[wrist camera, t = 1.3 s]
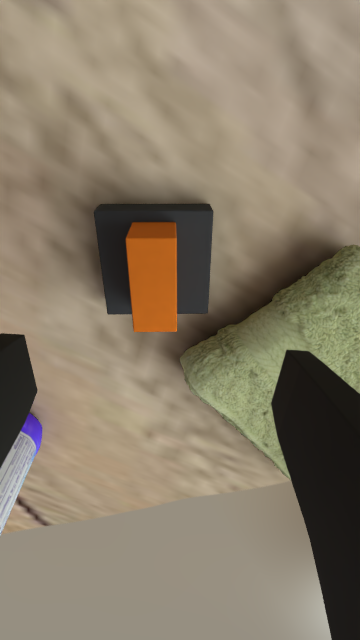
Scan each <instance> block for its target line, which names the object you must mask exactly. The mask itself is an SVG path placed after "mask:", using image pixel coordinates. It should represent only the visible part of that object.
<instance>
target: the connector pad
mask: <svg viewBox="0 0 360 640" xmlns="http://www.w3.org/2000/svg"><path fill="white" fill-rule="evenodd" d="M94 217H95V224H96V232H97V239H98V246H99V254H100V261H101V269H102V276H103V284H104V291H105V298H106V306H107V313H108V314H132V317H133V329H134V332H175V331H177V314H203V313H208V300H209V281H210V263H211V244H212V226H213V210H212V208H211V206H210V204H101V205H99V206H98V207H97V208H96V209H95V211H94Z"/></svg>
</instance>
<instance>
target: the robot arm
mask: <svg viewBox="0 0 360 640" xmlns="http://www.w3.org/2000/svg"><path fill="white" fill-rule="evenodd" d="M36 393H37V387H36V383H35V378H34V374H33V370H32V366H31V361H30V357H29V353H28V349H27V345H26V340H25V336H24V335H19V334H0V468H1V466H2V464H3V462H4V460H5V459H6V457H7V455H8V453H9V451H10V450H11V448H12V446H13V444H14V442H15V440H16V439H17V437H18V435H19V433H20V431H21V429H22V427H23V426H24V424H25V421H26V419H27V416H28V414H29V411H30V409H31V406H32V404H33V401H34V398H35V396H36ZM271 406H272V412H273V417H274V423H275V428H276V433H277V437H278V441H279V444H280V447H281V450H282V453H283V456H284V460H285V463H286V466H287V469H288V472H289V475H290V478H291V481H292V484H293V487H294V490H295V493H296V496H297V499H298V502H299V505H300V508H301V511H302V515H303V517H304V521H305V524H306V528H307V531H308V535H309V538H310V542H311V546H312V551H313V555H314V559H315V564H316V568H317V572H318V577H319V581H320V585H321V590H322V594H323V599H324V604H325V609H326V614H327V619H328V623H329V628H330V633H331V638H332V640H360V394H359V393H358V392H357V391H356V390H355V389H354V388H352V387H351V386H350V385H349V384H348V383H346V382H345V381H344V380H343V379H342V378H341V377H339V376H338V375H337V374H336V373H335V372H334V371H332V370H331V369H330V368H329V367H328V366H327V365H325V364H324V363H323V362H322V361H321V360H319V359H318V358H317V357H316V356H315V355H313V354H312V353H311V352H309V351H301V350H286V353H285V357H284V360H283V363H282V367H281V370H280V374H279V377H278V381H277V384H276V388H275V391H274V395H273V398H272V401H271Z"/></svg>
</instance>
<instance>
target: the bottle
mask: <svg viewBox="0 0 360 640" xmlns="http://www.w3.org/2000/svg"><path fill="white" fill-rule="evenodd" d="M41 438H42V425H41V424H40V422H39V421H38V420H37V419H36V418H35V417H34V416H33V415H32V414H30V413H29V414H28V416H27V419H26V421H25V424H24V426H23V427H22V429H21V431H20V433H19V435H18V437H17V439H16V440H15V442H14V444H13V446H12V448H11V450H10V451H9V453H8V455H7V457H6V459H5V460H4V462H3V464H2V466H1V468H0V535H1V533H2V531H3V528H4V526H5V523H6V521H7V519H8V516H9V514H10V512H11V509H12V507H13V505H14V502H15V500H16V498H17V496H18V493H19V491H20V489H21V486H22V484H23V482H24V479H25V477H26V475H27V473H28V470H29V468H30V466H31V464H32V461H33V459H34V457H35V455H36V454H37V452H38V449H39V447H40V443H41Z"/></svg>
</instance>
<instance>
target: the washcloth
mask: <svg viewBox="0 0 360 640" xmlns="http://www.w3.org/2000/svg"><path fill="white" fill-rule="evenodd" d="M286 350H301V351H309V352H311V353H312V354H313V355H315V356H316V357H317V358H318V359H319V360H321V361H322V362H323V363H324V364H325V365H327V366H328V367H329V368H330V369H331V370H332V371H334V372H335V373H336V374H337V375H338V376H339V377H341V378H342V379H343V380H344V381H345V382H346V383H348V384H349V385H350V386H351V387H352V388H354V389H355V390H356V391H357V392H358V393H359V394H360V247H359V246H357V245H350V246H345V247H344V248H343V249H341V250H340V251H338V252H337V253H336V254H335V255H334V256H333V258H332V259H327V260H325V261H324V262H322V263H321V265H320V266H319V267H315V268H314V269H313V270H312V271H310V272H309V273H308V275H307V276H303V277H302V278H301V279H298V281H297V282H295V283H293V284H292V285H291V286H289V287H288V288H285V289H282V290H280V291H279V292H278V293H277V294H275V296H274V297H273V298H272V302H270V303H269V304H268V305H267V306H264V307H262V308H260V309H259V310H258V311H257V312H255V313H253V314H251V315H250V316H249V317H248V318H247V319H245V320H244V321H242V322H241V323H239V324H237V325H227V326H226V327H225V328H221V329H220V330H218V334H217V335H215V336H211V337H210V338H209V339H207V340H205V341H201V342H200V343H198V345H195V346H192V347H191V348H189V349H187V351H185V352H184V354H183V355H182V356H181V357H180V363H181V365H182V367H183V369H184V376H185V381H186V383H187V384H188V385H189V388H190V390H191V391H192V393H193V394H194V395H196V396H199V397H200V400H202V401H203V402H204V403H206V404H210V406H212V407H213V408H214V409H215V410H216V411H218V412H219V413H220V414H221V415H222V416H223V419H225V420H226V421H227V422H229V423H230V424H231V425H232V426H235V428H236V430H239V431H240V433H241V434H242V435H243V436H245V437H246V438H247V439H249V440H250V441H251V442H252V443H253V445H254V446H255V447H257V448H258V449H259V450H262V451H263V452H264V454H265V456H266V457H268V458H270V459H271V460H272V461H273V462H274V463H275V465H274V466H276V467H277V468H278V469H280V470H281V472H282V473H283V474H284V475H285V476H286V477H288V478H289V479H291V478H290V475H289V472H288V469H287V466H286V463H285V460H284V456H283V453H282V450H281V447H280V444H279V441H278V437H277V433H276V428H275V423H274V417H273V412H272V406H271V401H272V398H273V395H274V391H275V388H276V384H277V381H278V377H279V374H280V370H281V367H282V363H283V360H284V357H285V353H286Z"/></svg>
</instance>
